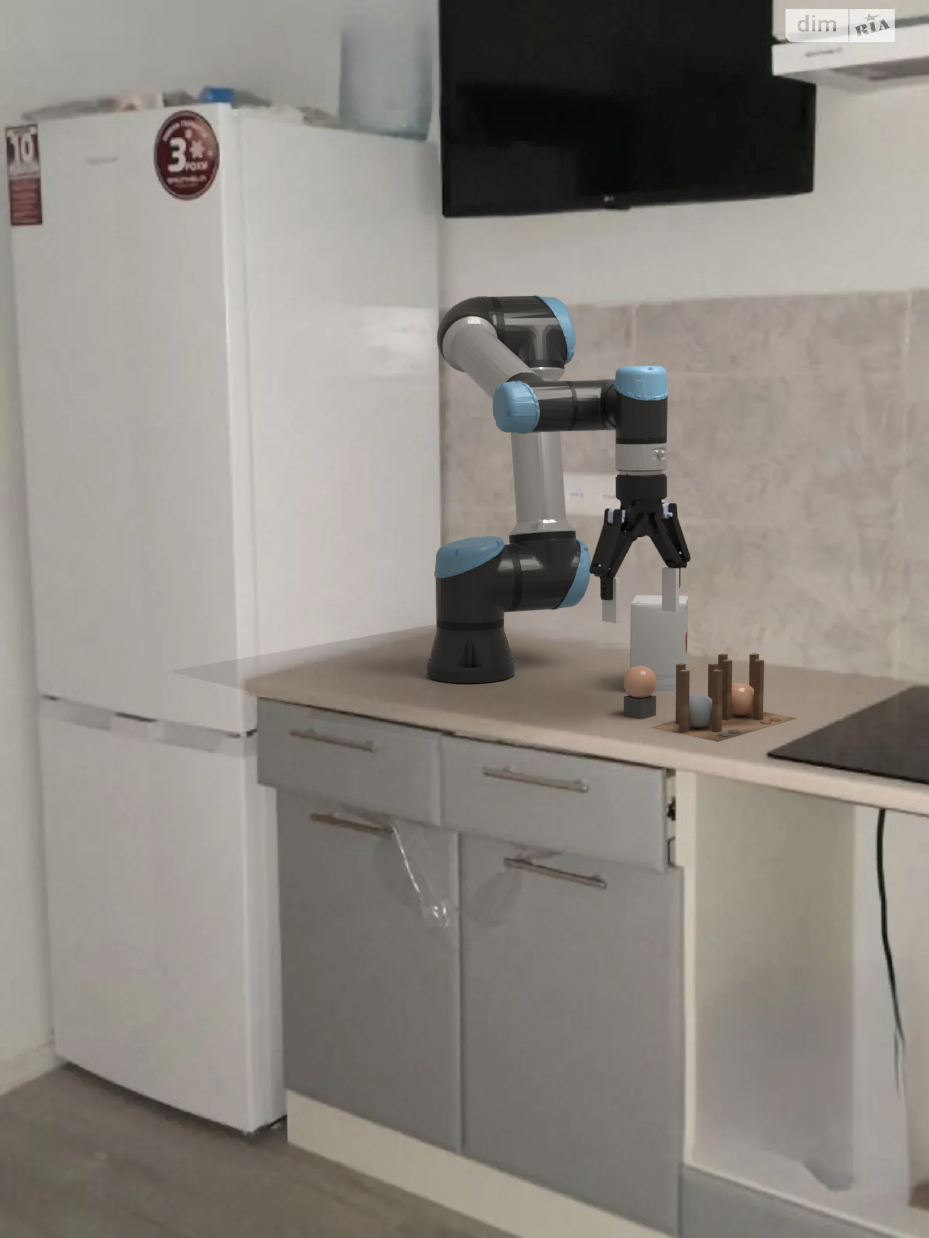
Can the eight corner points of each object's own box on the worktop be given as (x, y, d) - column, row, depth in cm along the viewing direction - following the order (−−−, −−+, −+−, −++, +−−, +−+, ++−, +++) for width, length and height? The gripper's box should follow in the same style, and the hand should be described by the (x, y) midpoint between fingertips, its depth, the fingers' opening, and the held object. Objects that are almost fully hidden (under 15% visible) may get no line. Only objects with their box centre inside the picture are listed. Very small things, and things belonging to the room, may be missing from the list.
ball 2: (716, 715, 227) (716, 683, 227) (736, 710, 231) (736, 677, 230) (743, 721, 224) (744, 688, 223) (763, 715, 227) (764, 682, 226)
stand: (623, 719, 229) (623, 696, 228) (638, 715, 231) (638, 692, 230) (641, 723, 226) (641, 700, 226) (655, 719, 229) (656, 696, 228)
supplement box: (685, 695, 244) (686, 603, 241) (629, 694, 246) (629, 602, 243) (688, 683, 253) (689, 594, 250) (634, 682, 254) (634, 593, 252)
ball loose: (616, 698, 228) (616, 665, 227) (637, 693, 232) (638, 661, 231) (642, 703, 225) (642, 670, 224) (663, 698, 228) (663, 665, 227)
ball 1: (673, 727, 221) (674, 693, 220) (695, 721, 224) (695, 688, 223) (701, 733, 217) (701, 699, 216) (722, 727, 220) (723, 693, 220)
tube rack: (651, 731, 221) (651, 667, 220) (731, 709, 234) (731, 648, 232) (718, 745, 213) (719, 679, 211) (796, 722, 225) (798, 659, 224)
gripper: (603, 478, 211) (604, 629, 214) (714, 468, 228) (713, 608, 231) (564, 476, 217) (565, 624, 220) (675, 467, 233) (674, 604, 237)
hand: (641, 616), depth 226 cm, fingers open, 13 cm apart
